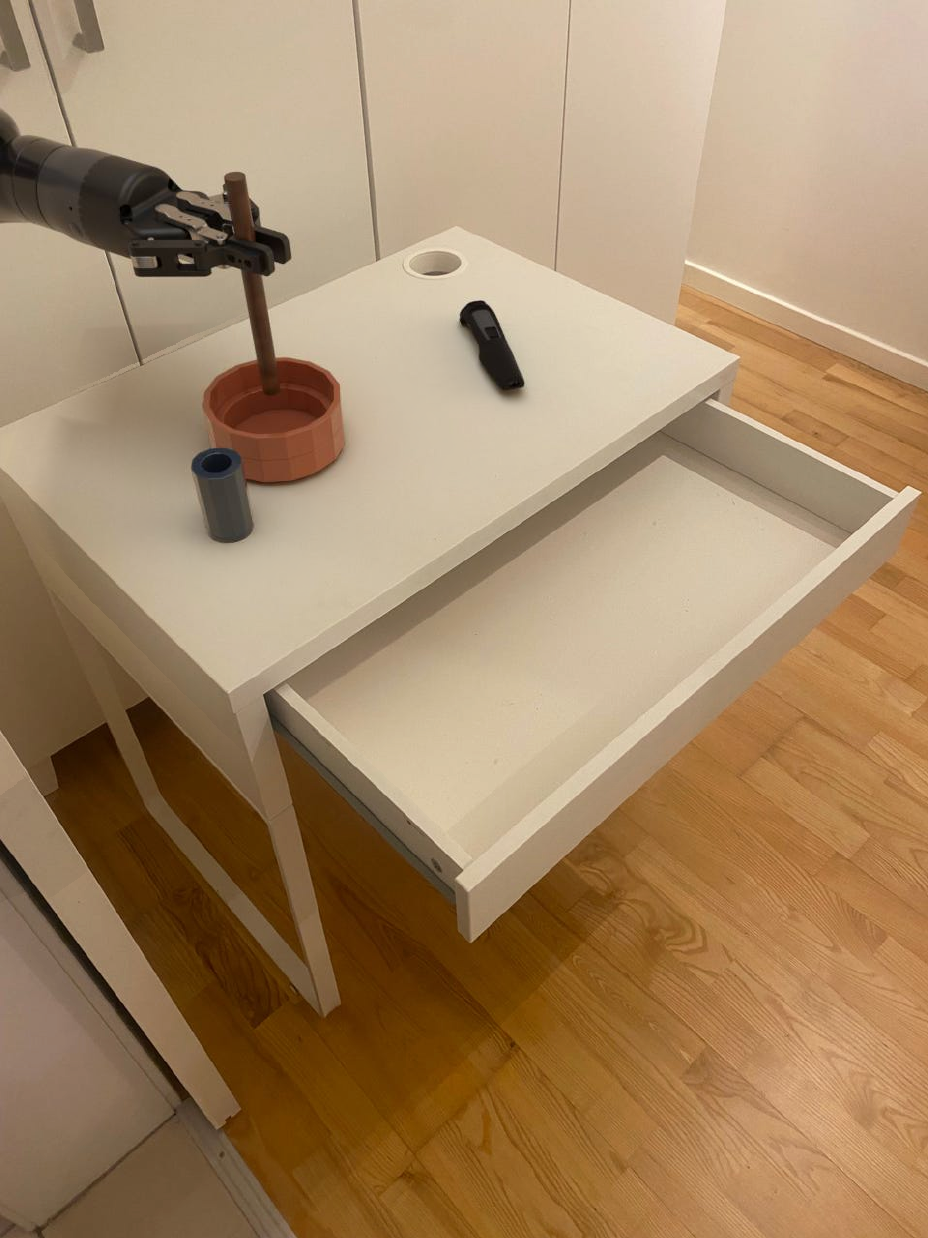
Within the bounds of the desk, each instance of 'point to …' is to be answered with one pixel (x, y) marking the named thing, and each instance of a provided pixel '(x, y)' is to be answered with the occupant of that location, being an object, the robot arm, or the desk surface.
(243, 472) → the tube
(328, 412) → the bowl
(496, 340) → the electric trimmer
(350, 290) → the desk surface
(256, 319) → the stick
